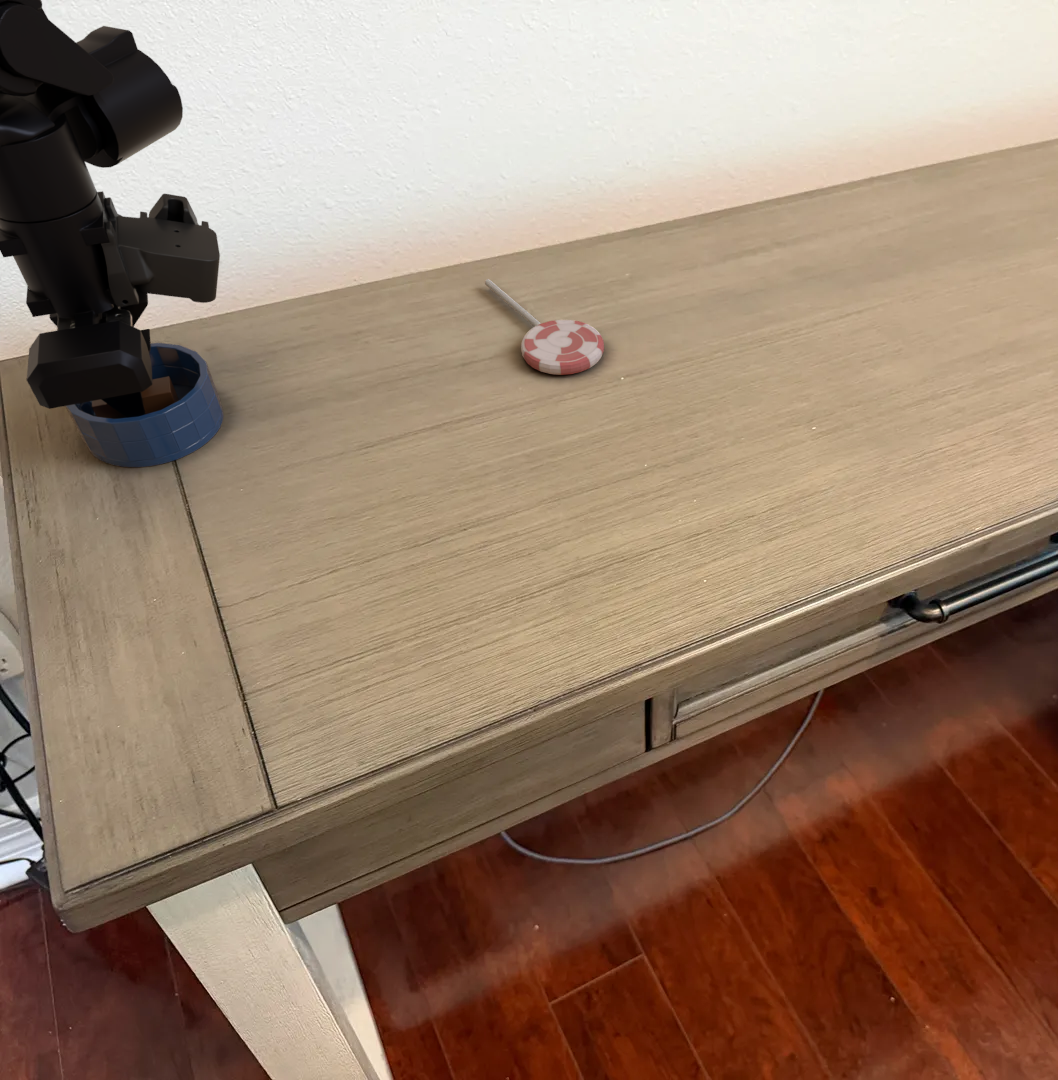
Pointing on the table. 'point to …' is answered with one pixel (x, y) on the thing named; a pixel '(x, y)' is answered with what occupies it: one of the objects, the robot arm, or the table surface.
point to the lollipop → (556, 342)
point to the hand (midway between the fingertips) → (136, 407)
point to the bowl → (158, 416)
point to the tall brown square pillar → (153, 399)
